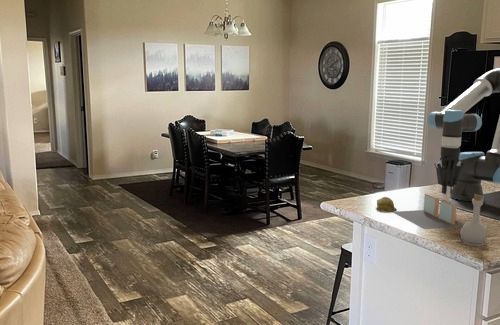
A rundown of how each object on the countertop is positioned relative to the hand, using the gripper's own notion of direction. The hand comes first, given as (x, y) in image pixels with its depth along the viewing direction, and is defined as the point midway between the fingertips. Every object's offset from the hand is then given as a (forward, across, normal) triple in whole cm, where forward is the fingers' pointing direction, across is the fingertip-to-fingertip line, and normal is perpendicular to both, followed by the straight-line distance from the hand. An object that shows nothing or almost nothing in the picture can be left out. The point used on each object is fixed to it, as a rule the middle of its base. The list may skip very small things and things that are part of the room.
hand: (445, 200), depth 200 cm
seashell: (+6, +22, -10) cm, 25 cm away
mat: (+6, +13, +6) cm, 15 cm away
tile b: (+5, +7, +11) cm, 14 cm away
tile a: (+5, +7, 0) cm, 9 cm away
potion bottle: (+6, +13, +34) cm, 37 cm away
